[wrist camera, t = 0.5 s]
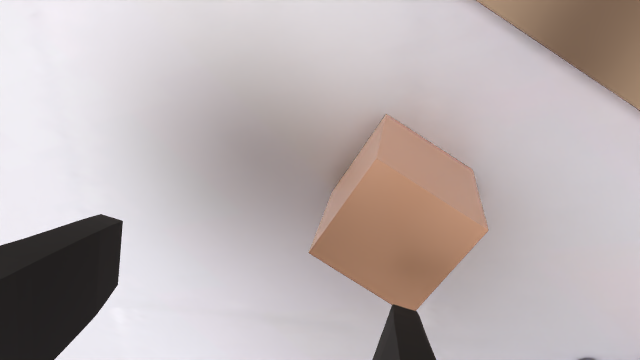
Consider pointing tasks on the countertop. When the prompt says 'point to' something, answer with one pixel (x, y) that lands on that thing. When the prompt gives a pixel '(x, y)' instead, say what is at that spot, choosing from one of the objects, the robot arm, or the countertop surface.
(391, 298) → the terracotta block
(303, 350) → the countertop surface
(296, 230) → the countertop surface
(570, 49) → the walnut board
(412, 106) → the countertop surface
